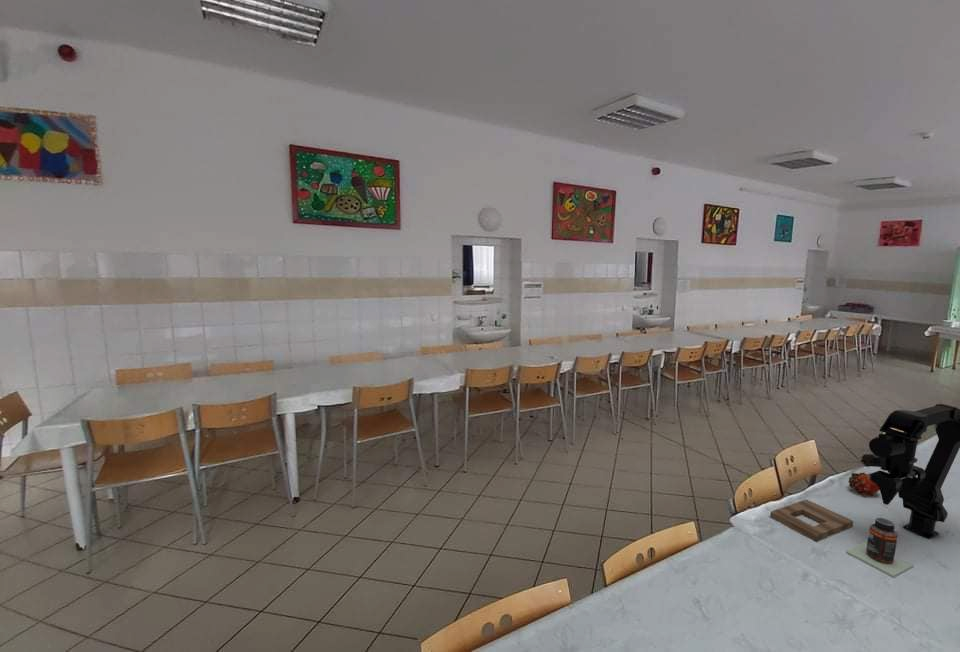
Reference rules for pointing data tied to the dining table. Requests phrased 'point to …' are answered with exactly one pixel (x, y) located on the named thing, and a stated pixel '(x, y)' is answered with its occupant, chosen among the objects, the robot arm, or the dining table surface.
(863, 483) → the dragon fruit
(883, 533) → the supplement bottle
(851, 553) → the sage pad
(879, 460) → the robot arm
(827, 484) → the dining table surface
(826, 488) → the dining table surface
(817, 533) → the socket board
